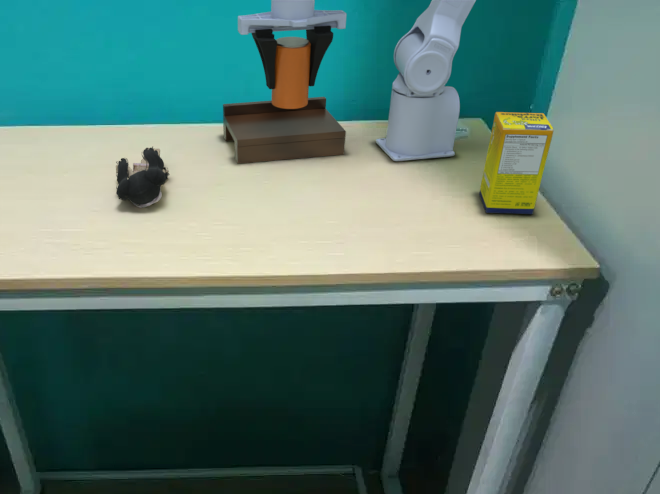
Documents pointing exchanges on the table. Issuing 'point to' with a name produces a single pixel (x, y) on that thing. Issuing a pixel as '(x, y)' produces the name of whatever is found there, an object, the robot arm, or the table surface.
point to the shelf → (282, 131)
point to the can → (291, 73)
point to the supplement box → (515, 162)
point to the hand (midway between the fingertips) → (289, 85)
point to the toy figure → (142, 178)
